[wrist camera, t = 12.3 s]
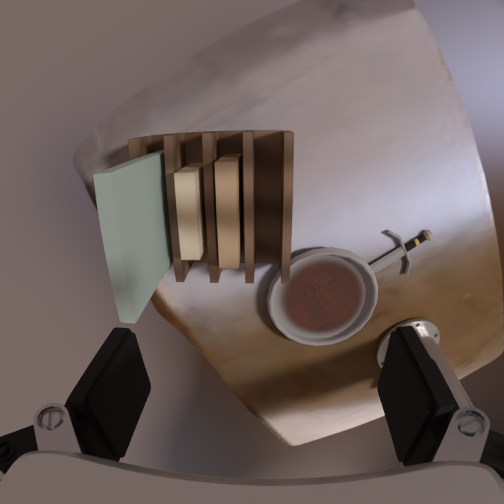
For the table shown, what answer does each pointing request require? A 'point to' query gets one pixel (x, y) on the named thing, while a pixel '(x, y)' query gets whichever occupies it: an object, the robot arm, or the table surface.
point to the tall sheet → (134, 230)
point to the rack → (253, 192)
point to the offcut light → (191, 211)
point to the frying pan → (329, 293)
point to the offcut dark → (229, 209)
